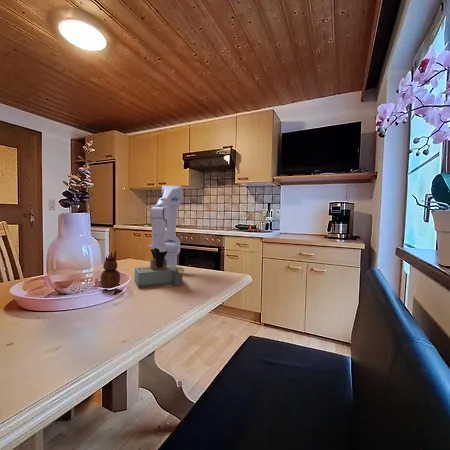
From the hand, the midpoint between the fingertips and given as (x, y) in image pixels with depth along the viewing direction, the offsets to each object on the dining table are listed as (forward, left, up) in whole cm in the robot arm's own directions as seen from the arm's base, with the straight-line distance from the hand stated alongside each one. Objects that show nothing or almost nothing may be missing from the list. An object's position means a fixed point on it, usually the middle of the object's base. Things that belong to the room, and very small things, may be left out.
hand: (158, 266), depth 111 cm
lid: (0, 0, -2) cm, 2 cm away
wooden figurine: (+4, -19, -7) cm, 21 cm away
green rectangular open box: (+1, 0, -7) cm, 7 cm away
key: (+10, +6, -1) cm, 12 cm away
